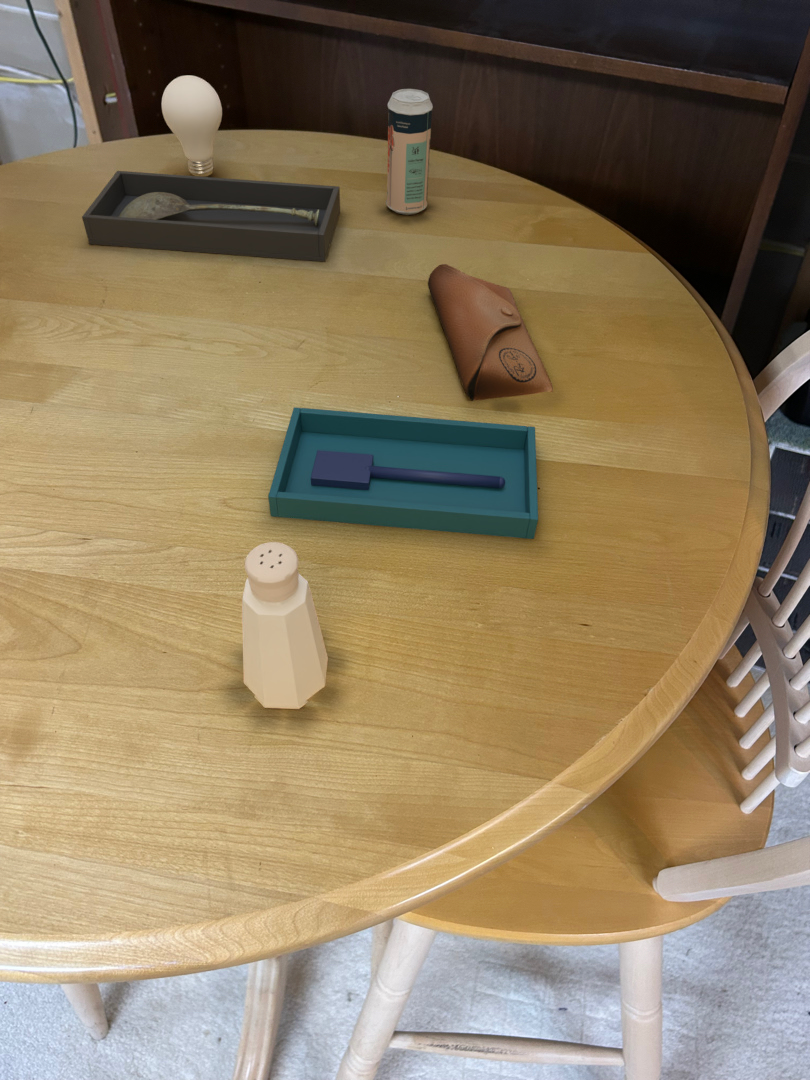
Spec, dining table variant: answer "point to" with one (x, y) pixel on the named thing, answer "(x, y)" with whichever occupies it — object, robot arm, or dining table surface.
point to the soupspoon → (194, 207)
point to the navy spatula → (383, 473)
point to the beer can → (408, 150)
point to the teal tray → (417, 449)
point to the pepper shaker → (280, 630)
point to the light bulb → (193, 120)
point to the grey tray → (217, 217)
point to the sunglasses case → (486, 336)
